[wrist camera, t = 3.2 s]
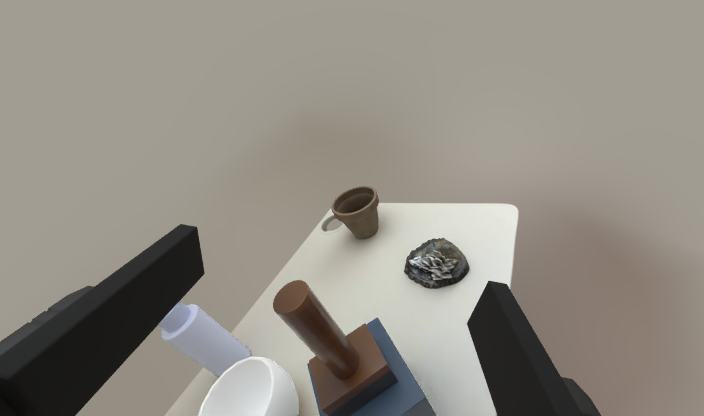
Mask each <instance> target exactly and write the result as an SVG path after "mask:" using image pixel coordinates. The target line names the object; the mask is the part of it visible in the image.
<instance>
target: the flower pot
mask: <svg viewBox="0 0 704 416" xmlns="http://www.w3.org/2000/svg"><path fill="white" fill-rule="evenodd" d="M378 203H379V200H378V195H377V192H376V190H375V189H374V188H372V187H369V186H359V187H355V188H352V189H349V190H347V191H345V192H344V193H342V194H340V195H339V196H338V197H337V198H336V199H335V200H334V202H333V203H332V207H331V208H332V212H333V213H334V215H335V217H336V218H337V219H338V220H339V221H342V222H343V223H344V224H345V225H346V226H347V227H348V228H349V230H350V231H351V232H352V233H353V234H354V235H355V236H356V237H358V238H368V237H370V236H372V235H374V234H375V233H376V232H377V230H378V212H377V206H378Z"/></svg>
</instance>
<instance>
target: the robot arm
mask: <svg viewBox="0 0 704 416" xmlns="http://www.w3.org/2000/svg"><path fill="white" fill-rule="evenodd" d="M203 275H204V267H203V261H202V255H201V249H200V242H199V237H198V230H197V227H194V226H188V225H182V224H181V225H179V226H177V227H176V228H175V229H173V230H172V231H171V232H169V233H168V234H167V235H165V236H164V237H162V238H161V239H160V240H158V241H157V242H155V243H154V244H153V245H151V246H150V247H149V248H147V249H146V250H144V251H143V252H142V253H140V254H139V255H138V256H136V257H135V258H134V259H132V260H131V261H130V262H128V263H127V264H125V265H124V266H123V267H121V268H120V269H118V270H117V271H116V272H114V273H113V274H112V275H110V276H109V277H108V278H106V279H105V280H103V281H102V282H101V283H99V284H98V285H96V286H95V287H92V286H87V287H85V288H83V289H80V290H78V291H76V292H74V293H72V294H69V295H67V296H66V297H64V298H63V299H62V300H60V301H59V302H57V303H56V304H54V305H53V306H51V307H50V308H48V311H46V312H45V311H44V312H43V313H41V314H40V315H38V316H37V317H36V318H34V319H33V320H32V322H30V323H27V324H25V325H24V326H23V327H21V328H20V329H18V330H17V331H15V332H14V333H12V334H11V335H9V336H8V337H7V338H5V339H4V340H2V341H1V342H0V416H75V415H76V414H77V413H78V412H79V411H80V410H81V409H82V408H83V407H84V405H85V404H86V403H87V402H88V401H89V400H90V399H91V398H92V397H93V395H94V394H95V393H96V392H97V391H98V390H99V389H100V388H101V387H102V386H103V384H104V383H105V382H106V381H107V380H108V379H109V378H110V377H111V376H112V375H113V374H114V372H115V371H116V370H117V369H118V368H119V367H120V366H121V365H122V364H123V362H124V361H125V360H126V359H127V358H128V357H129V356H130V355H131V354H132V353H133V352H134V350H135V349H136V348H137V347H138V346H139V345H140V344H141V343H142V342H143V341H144V340H145V338H146V337H147V336H148V335H149V334H150V333H151V332H152V331H153V330H154V329H155V327H156V326H157V325H158V324H159V323H160V322H161V321H162V320H163V319H164V318H165V316H166V315H167V314H168V313H169V312H170V311H171V310H172V309H173V308H174V307H175V305H176V304H177V303H178V302H179V301H180V300H181V299H182V298H183V296H185V294H186V293H187V292H188V291H189V290H190V289H191V288H192V287H193V286H194V285H195V283H196V282H197V281H198V280H199V279H200V278H201V277H202V276H203ZM467 325H468V328H469V331H470V334H471V337H472V340H473V343H474V346H475V349H476V352H477V355H478V358H479V361H480V364H481V367H482V370H483V373H484V376H485V379H486V382H487V385H488V388H489V391H490V394H491V397H492V400H493V403H494V406H495V409H496V412H497V415H498V416H601V415H600V413H599V412H598V410H597V408H596V407H595V405H594V404H593V402H592V401H591V399H590V398H589V397H588V395H587V394H586V393H585V392H584V391H583V390H582V389H581V388H580V387H579V386H578V385H577V384H576V383H575V382H574V380H572V379H568V378H563V377H561V376H560V375H559V373H558V371H557V370H556V368H555V366H554V364H553V363H552V361H551V359H550V358H549V356H548V354H547V353H546V351H545V349H544V347H543V346H542V344H541V342H540V340H539V339H538V337H537V335H536V334H535V332H534V330H533V329H532V327H531V325H530V324H529V322H528V320H527V318H526V316H525V315H524V313H523V312H522V310H521V308H520V306H519V305H518V303H517V301H516V299H515V298H514V296H513V294H512V293H511V291H510V289H509V287H508V286H507V284H503V283H498V282H493V281H488V283H487V285H486V287H485V289H484V291H483V293H482V295H481V297H480V299H479V301H478V303H477V305H476V307H475V309H474V311H473V313H472V315H471V317H470V319H469V320H468V322H467Z"/></svg>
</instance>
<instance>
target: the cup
mask: <svg viewBox="0 0 704 416" xmlns="http://www.w3.org/2000/svg"><path fill="white" fill-rule="evenodd" d="M198 416H299V398H298V395H297V392H296V389H295V386H294V383H293V381H292V378H291V376H290V375H289V374H288V373H287V372H286V371H284V370H283V369H282V368H281V367H280V366H279V365H278V364H276V363H275V362H274V361H273V360H270V359H267V358H264V357H254V356H251V357H248V358H246V359H243V360H241V361H238V362H236V363H235V364H234V365H233V366H231V367H230V368H229V369H227V370H226V371H225V372H224V373H223V374H222V375H221V376H220V377H219V379H218V380H217V381H216V382H215V383H214V385H213V386H212V387H211V389H210V390H209V392H208V394H207V396H206V398H205V399H204V401H203V403H202V405H201V407H200V411H199V414H198Z"/></svg>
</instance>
